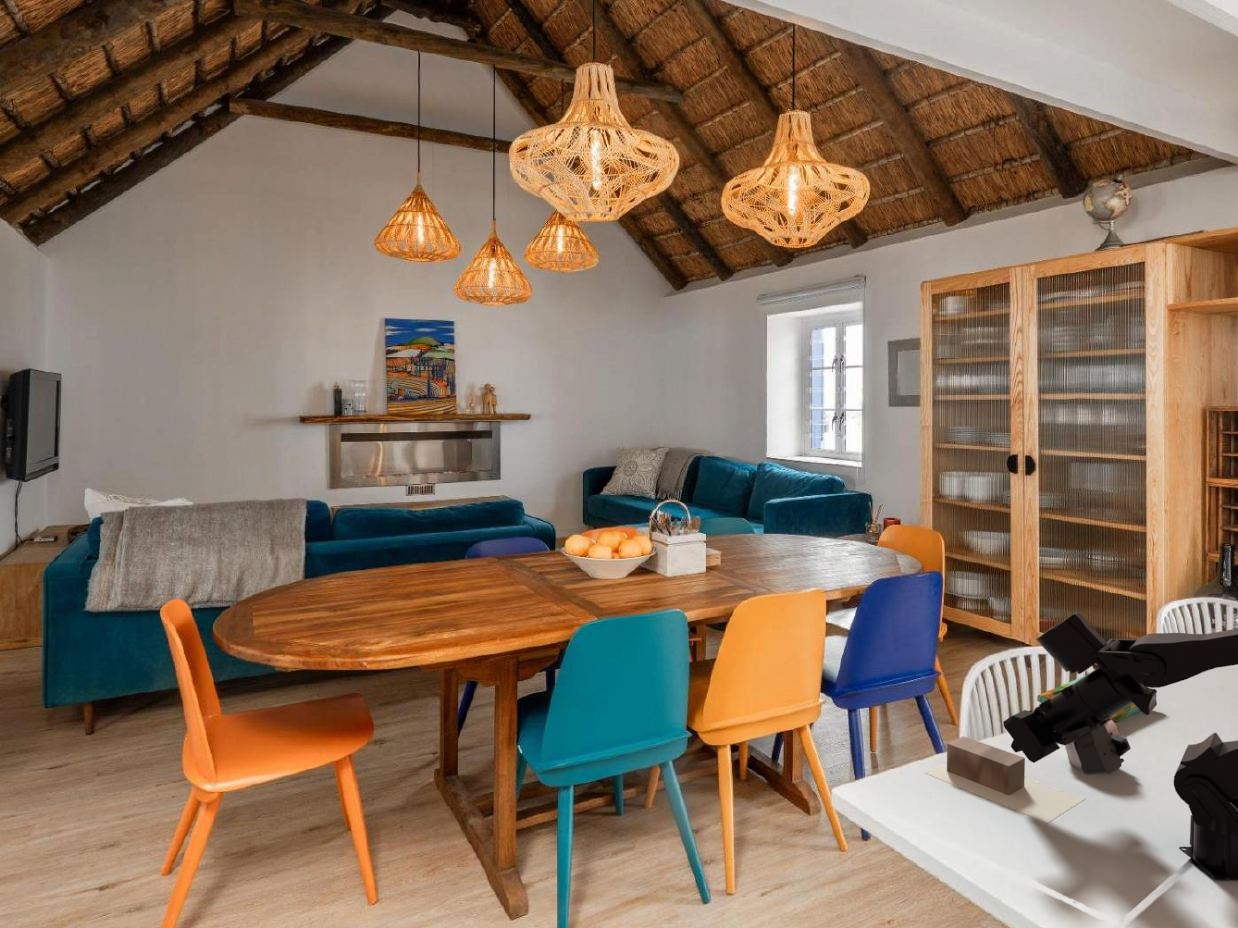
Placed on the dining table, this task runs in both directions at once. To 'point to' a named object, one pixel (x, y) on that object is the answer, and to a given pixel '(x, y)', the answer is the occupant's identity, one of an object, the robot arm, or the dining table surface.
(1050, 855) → the dining table surface
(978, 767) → the walnut block
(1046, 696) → the puzzle game
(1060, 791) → the beige mat
